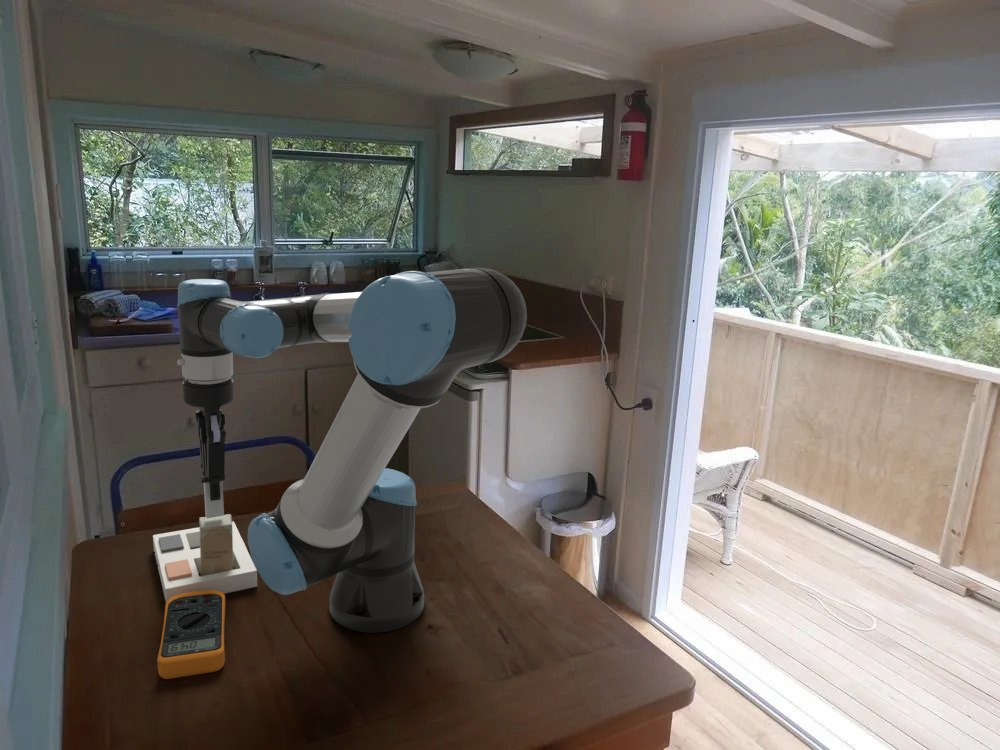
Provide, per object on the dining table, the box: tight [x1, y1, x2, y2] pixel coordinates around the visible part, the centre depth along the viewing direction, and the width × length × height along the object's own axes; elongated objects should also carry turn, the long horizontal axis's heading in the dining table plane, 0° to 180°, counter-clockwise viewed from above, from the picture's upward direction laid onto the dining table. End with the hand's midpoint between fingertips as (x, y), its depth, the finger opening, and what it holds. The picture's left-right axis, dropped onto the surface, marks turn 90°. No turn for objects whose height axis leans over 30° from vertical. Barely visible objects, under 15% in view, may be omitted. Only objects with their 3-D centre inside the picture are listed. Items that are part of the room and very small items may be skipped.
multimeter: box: [156, 590, 226, 680], centre depth 109 cm, size 9×18×3 cm, turn 19°
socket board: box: [152, 520, 258, 603], centre depth 128 cm, size 20×14×4 cm
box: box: [198, 513, 234, 576], centre depth 124 cm, size 5×4×11 cm
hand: (214, 515), depth 122 cm, fingers closed
